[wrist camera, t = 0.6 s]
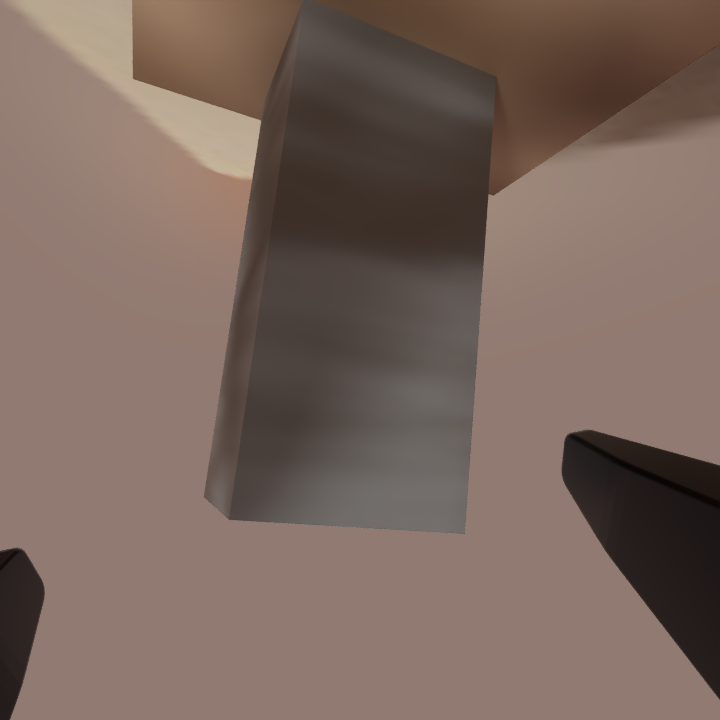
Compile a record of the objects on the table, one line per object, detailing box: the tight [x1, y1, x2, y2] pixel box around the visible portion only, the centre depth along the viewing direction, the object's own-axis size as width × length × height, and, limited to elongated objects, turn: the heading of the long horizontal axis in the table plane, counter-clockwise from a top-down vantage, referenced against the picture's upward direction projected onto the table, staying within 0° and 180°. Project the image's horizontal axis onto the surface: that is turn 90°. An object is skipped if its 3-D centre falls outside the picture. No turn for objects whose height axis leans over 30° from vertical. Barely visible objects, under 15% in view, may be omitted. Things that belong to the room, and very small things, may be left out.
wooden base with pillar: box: [132, 0, 720, 534], centre depth 11 cm, size 13×12×13 cm
